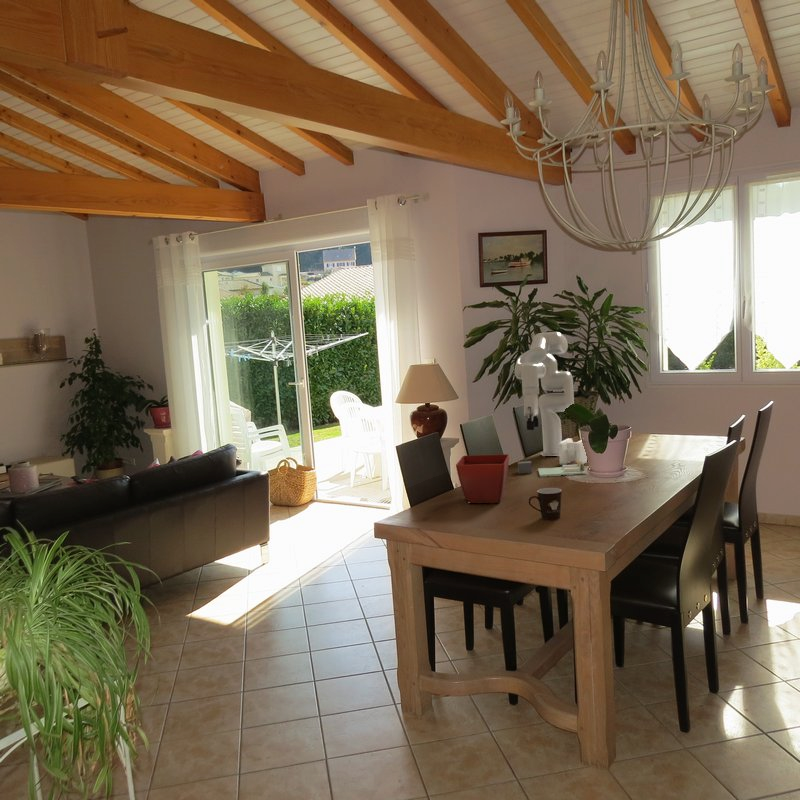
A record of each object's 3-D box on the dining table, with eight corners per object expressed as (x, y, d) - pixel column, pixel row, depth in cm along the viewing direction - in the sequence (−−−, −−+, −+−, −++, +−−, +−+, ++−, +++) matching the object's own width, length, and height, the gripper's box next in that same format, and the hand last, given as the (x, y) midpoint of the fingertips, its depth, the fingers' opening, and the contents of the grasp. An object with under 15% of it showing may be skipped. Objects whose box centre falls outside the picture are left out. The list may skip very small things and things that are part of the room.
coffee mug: (563, 514, 279) (561, 487, 277) (563, 520, 270) (561, 493, 269) (531, 515, 281) (529, 488, 280) (529, 521, 273) (527, 494, 272)
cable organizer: (580, 467, 357) (578, 443, 356) (558, 466, 363) (557, 442, 361) (590, 461, 369) (589, 437, 368) (569, 460, 375) (568, 437, 374)
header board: (538, 470, 357) (537, 460, 357) (581, 468, 355) (581, 457, 354) (539, 477, 344) (539, 466, 343) (585, 474, 341) (584, 463, 341)
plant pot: (507, 506, 297) (504, 463, 296) (458, 506, 302) (455, 464, 300) (511, 494, 316) (509, 453, 314) (466, 495, 321) (463, 455, 319)
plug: (518, 472, 358) (517, 461, 357) (531, 471, 357) (530, 461, 356) (518, 474, 354) (518, 463, 353) (532, 473, 353) (531, 462, 352)
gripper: (526, 389, 358) (528, 426, 360) (518, 393, 342) (520, 431, 344) (542, 389, 355) (544, 425, 357) (534, 392, 340) (537, 430, 341)
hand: (532, 428), depth 350 cm, fingers open, 9 cm apart
